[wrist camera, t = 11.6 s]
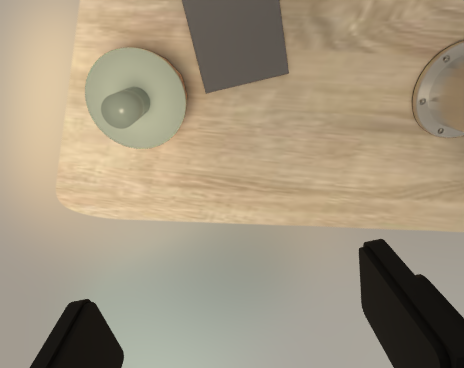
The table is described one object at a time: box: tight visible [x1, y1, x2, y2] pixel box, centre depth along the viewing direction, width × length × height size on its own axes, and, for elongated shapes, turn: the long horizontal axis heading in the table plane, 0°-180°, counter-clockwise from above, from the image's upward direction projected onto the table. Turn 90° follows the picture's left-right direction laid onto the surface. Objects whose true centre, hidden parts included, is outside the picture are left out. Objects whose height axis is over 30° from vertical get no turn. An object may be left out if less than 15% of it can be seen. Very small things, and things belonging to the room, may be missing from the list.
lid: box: [85, 47, 186, 149], centre depth 30 cm, size 11×11×7 cm
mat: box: [182, 0, 289, 93], centre depth 35 cm, size 11×11×1 cm
